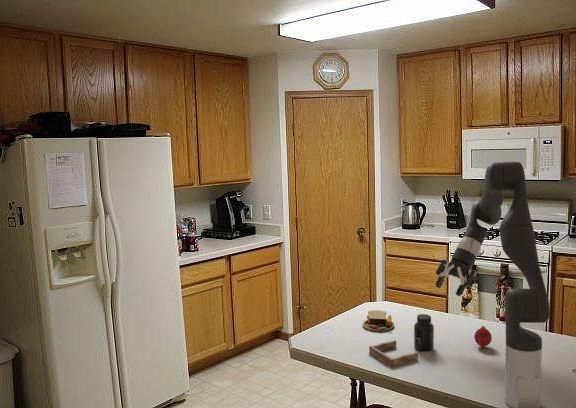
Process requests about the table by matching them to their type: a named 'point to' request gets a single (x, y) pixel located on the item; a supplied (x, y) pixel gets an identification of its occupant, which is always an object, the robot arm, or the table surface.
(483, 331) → the onion
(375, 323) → the toy sandwich meal
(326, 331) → the table surface
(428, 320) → the supplement bottle
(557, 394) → the table surface
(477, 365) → the table surface
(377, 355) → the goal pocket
